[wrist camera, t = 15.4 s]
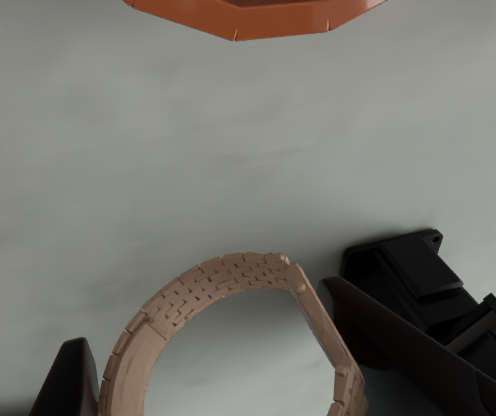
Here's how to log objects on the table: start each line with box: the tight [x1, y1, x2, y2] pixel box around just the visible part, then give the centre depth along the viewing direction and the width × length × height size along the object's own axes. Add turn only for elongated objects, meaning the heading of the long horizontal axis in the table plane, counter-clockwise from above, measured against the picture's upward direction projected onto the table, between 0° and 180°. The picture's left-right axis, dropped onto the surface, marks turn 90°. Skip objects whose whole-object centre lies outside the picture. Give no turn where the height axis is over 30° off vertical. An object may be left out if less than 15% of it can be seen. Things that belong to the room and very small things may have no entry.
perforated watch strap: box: [97, 252, 369, 416], centre depth 9 cm, size 3×5×5 cm, turn 115°
